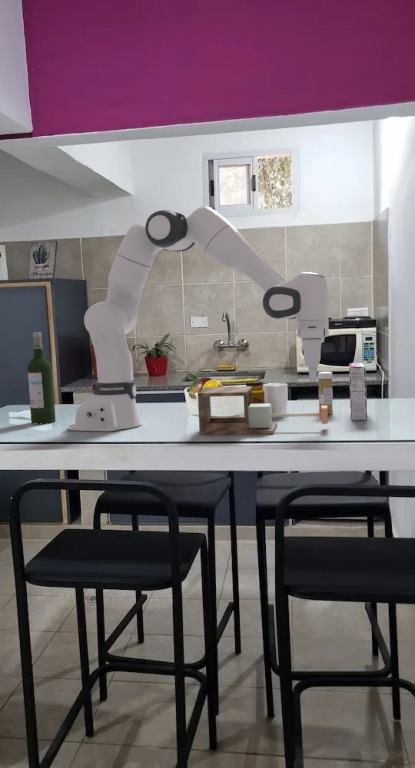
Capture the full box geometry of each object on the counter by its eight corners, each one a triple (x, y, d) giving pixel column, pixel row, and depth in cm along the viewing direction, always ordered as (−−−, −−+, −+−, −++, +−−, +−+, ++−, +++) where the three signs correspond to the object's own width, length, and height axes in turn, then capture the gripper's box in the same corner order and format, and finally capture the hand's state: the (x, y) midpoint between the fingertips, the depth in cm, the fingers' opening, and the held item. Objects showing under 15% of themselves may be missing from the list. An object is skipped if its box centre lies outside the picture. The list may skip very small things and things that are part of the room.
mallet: (249, 427, 199) (248, 407, 199) (251, 423, 205) (250, 403, 204) (327, 426, 195) (326, 405, 195) (327, 423, 201) (327, 402, 200)
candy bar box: (350, 414, 221) (349, 363, 219) (366, 414, 220) (365, 362, 218) (350, 420, 210) (349, 366, 208) (367, 420, 209) (366, 366, 207)
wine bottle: (58, 419, 237) (52, 331, 233) (51, 424, 229) (44, 332, 225) (36, 420, 238) (29, 332, 234) (28, 424, 230) (20, 333, 226)
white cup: (261, 416, 224) (260, 386, 223) (266, 412, 232) (265, 383, 231) (285, 417, 222) (284, 385, 221) (290, 412, 229) (289, 382, 228)
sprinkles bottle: (317, 412, 227) (316, 371, 225) (331, 412, 227) (330, 371, 226) (321, 415, 222) (319, 373, 221) (335, 414, 223) (334, 372, 221)
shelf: (199, 434, 199) (197, 393, 197) (207, 426, 211) (205, 387, 210) (273, 434, 195) (271, 391, 194) (277, 425, 207) (275, 385, 206)
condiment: (249, 422, 216) (247, 383, 215) (239, 418, 224) (238, 381, 223) (271, 420, 218) (269, 381, 217) (261, 416, 226) (259, 379, 225)
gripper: (303, 328, 206) (303, 375, 208) (299, 332, 186) (300, 383, 188) (324, 328, 205) (325, 374, 207) (323, 332, 185) (324, 383, 187)
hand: (313, 379), depth 197 cm, fingers open, 8 cm apart
